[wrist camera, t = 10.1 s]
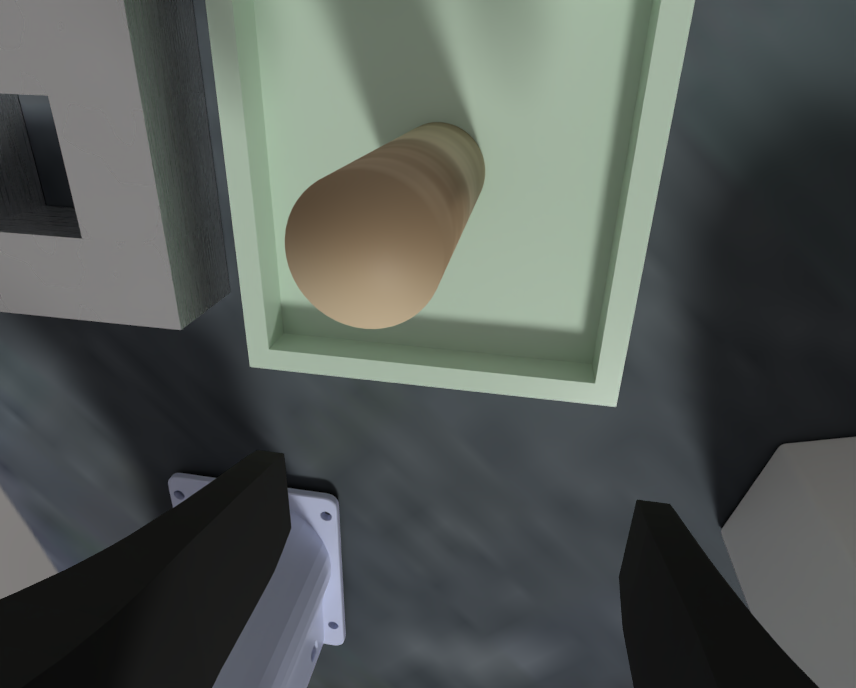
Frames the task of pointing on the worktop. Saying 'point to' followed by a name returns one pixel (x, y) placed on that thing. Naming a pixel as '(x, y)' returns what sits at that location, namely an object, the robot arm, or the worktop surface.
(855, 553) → the jar
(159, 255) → the socket block
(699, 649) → the robot arm
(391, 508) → the worktop surface
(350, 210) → the pin
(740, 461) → the worktop surface
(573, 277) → the tray
